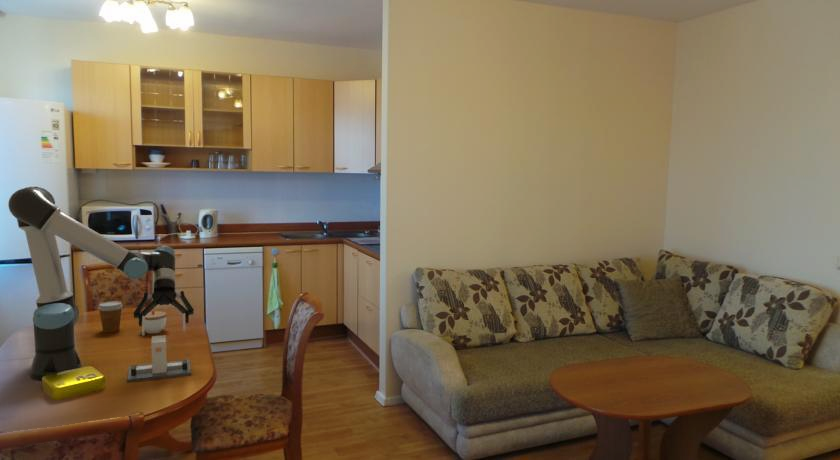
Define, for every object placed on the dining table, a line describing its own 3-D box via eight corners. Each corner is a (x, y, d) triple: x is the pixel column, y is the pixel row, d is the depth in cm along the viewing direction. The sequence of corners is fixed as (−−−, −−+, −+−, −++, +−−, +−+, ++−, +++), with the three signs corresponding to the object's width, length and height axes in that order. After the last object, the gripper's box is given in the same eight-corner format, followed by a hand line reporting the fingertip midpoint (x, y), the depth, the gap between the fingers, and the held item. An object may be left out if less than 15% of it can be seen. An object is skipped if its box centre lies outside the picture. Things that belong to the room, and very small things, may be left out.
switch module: (166, 372, 197) (165, 342, 196) (152, 374, 195) (151, 343, 194) (166, 364, 205) (165, 335, 204) (152, 366, 204) (152, 336, 202)
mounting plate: (126, 382, 190) (126, 374, 190) (129, 368, 203) (129, 361, 203) (190, 374, 199) (190, 367, 198) (189, 362, 211) (189, 354, 211)
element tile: (91, 377, 196) (90, 363, 195) (107, 389, 186) (106, 375, 185) (40, 388, 185) (40, 374, 184) (54, 402, 175) (53, 387, 174)
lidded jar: (159, 335, 243) (159, 314, 242) (135, 334, 243) (134, 313, 242) (171, 328, 253) (170, 307, 252) (147, 327, 254) (147, 307, 253)
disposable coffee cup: (94, 331, 246) (92, 304, 245) (114, 326, 255) (113, 300, 254) (107, 334, 242) (106, 307, 241) (128, 329, 250) (127, 302, 249)
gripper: (199, 286, 224) (200, 334, 212) (128, 289, 214) (126, 339, 202) (199, 275, 218) (201, 324, 207) (127, 278, 209) (124, 329, 197)
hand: (164, 332), depth 204 cm, fingers open, 13 cm apart
